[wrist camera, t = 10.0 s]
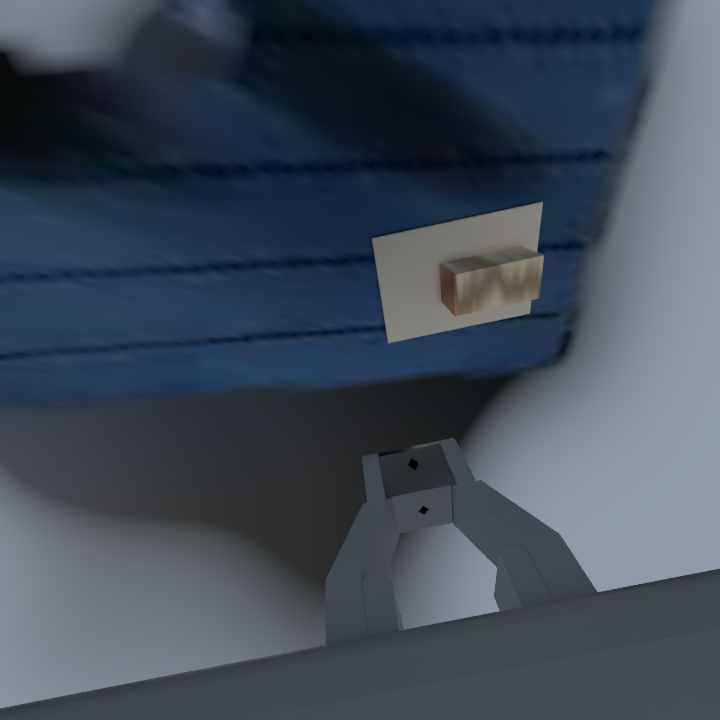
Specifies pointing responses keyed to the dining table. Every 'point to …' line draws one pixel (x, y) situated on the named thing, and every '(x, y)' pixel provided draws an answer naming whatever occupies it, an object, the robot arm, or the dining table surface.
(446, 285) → the birch block
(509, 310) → the sand mat
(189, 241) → the dining table surface
